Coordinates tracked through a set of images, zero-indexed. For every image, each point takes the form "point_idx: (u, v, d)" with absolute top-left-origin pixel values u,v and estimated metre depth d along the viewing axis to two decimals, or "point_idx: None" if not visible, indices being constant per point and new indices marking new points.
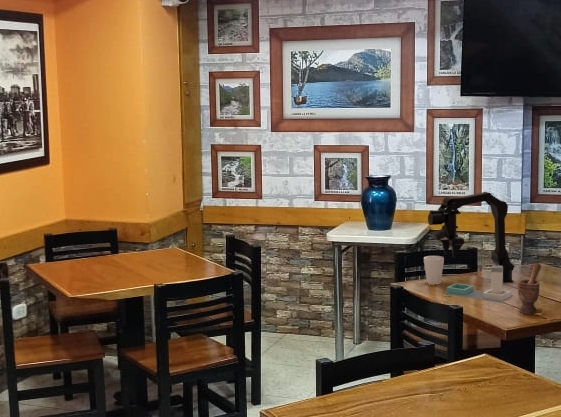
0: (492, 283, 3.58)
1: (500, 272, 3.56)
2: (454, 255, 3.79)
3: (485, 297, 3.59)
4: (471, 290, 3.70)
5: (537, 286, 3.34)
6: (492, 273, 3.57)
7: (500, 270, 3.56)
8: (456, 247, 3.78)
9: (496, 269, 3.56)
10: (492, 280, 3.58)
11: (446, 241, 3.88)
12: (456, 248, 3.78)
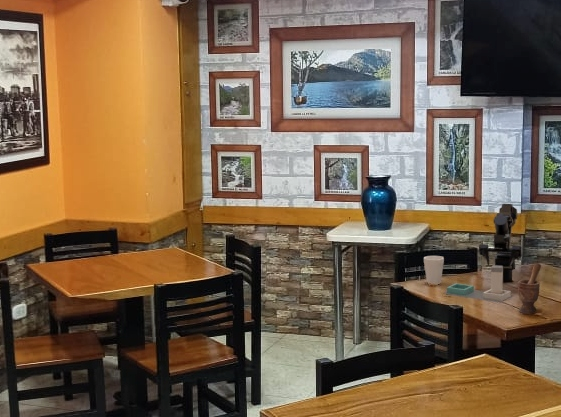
0: (492, 283, 3.58)
1: (500, 272, 3.56)
2: (510, 263, 3.65)
3: (485, 297, 3.59)
4: (471, 290, 3.70)
5: (537, 286, 3.34)
6: (492, 273, 3.57)
7: (500, 270, 3.56)
8: (513, 257, 3.67)
9: (496, 269, 3.56)
10: (492, 280, 3.58)
11: (488, 254, 3.71)
12: (512, 258, 3.67)
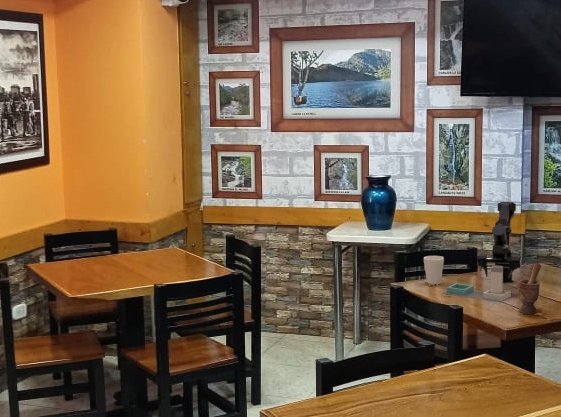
0: (492, 283, 3.58)
1: (500, 272, 3.56)
2: (509, 274, 3.59)
3: (485, 297, 3.59)
4: (471, 290, 3.70)
5: (537, 286, 3.34)
6: (492, 273, 3.57)
7: (500, 270, 3.56)
8: (511, 268, 3.61)
9: (496, 269, 3.56)
10: (492, 280, 3.58)
11: None
12: (511, 269, 3.61)
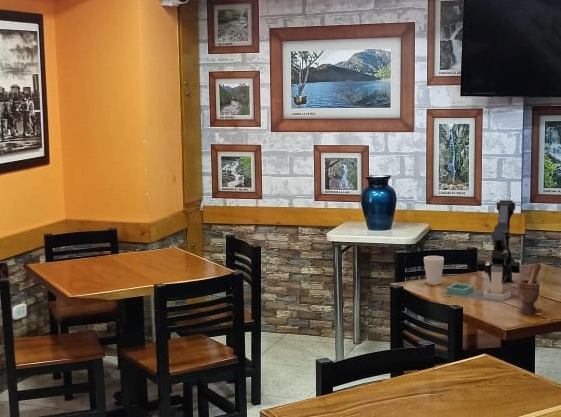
0: (492, 283, 3.58)
1: (500, 272, 3.56)
2: (503, 280, 3.57)
3: (485, 297, 3.59)
4: (471, 290, 3.70)
5: (537, 286, 3.34)
6: (492, 273, 3.57)
7: (500, 270, 3.56)
8: (506, 273, 3.60)
9: (496, 269, 3.56)
10: (492, 280, 3.58)
11: None
12: (506, 274, 3.60)
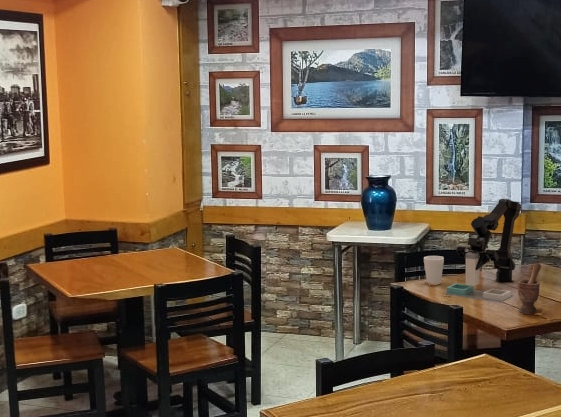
0: (466, 269, 3.64)
1: (473, 259, 3.61)
2: (478, 267, 3.62)
3: (485, 297, 3.59)
4: (471, 290, 3.70)
5: (537, 286, 3.34)
6: (466, 259, 3.63)
7: (473, 257, 3.61)
8: (482, 261, 3.64)
9: (470, 256, 3.62)
10: (466, 266, 3.64)
11: None
12: (482, 261, 3.64)
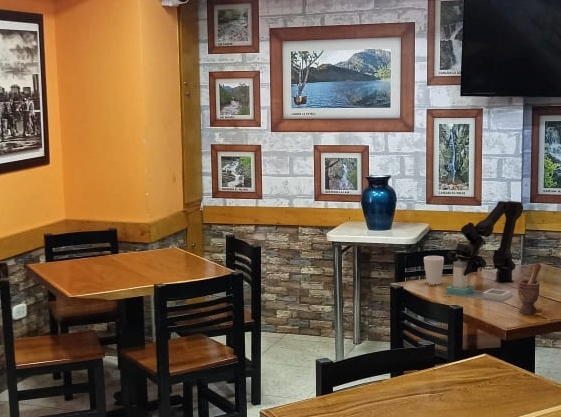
0: (454, 277, 3.70)
1: (460, 267, 3.67)
2: (466, 272, 3.67)
3: (485, 297, 3.59)
4: (471, 290, 3.70)
5: (537, 286, 3.34)
6: (454, 268, 3.70)
7: (460, 265, 3.67)
8: (472, 267, 3.68)
9: (457, 264, 3.68)
10: (453, 274, 3.70)
11: None
12: (471, 268, 3.68)
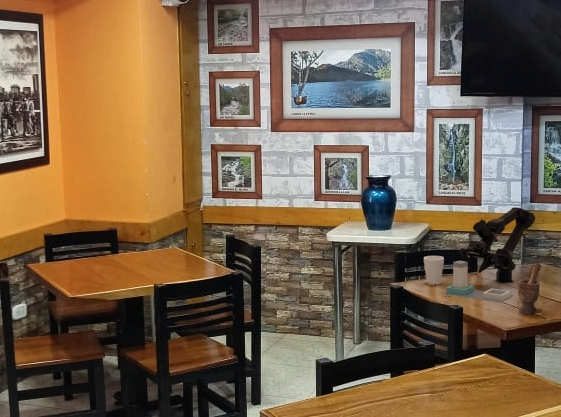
0: (454, 277, 3.70)
1: (460, 267, 3.67)
2: (481, 269, 3.71)
3: (485, 297, 3.59)
4: (471, 290, 3.70)
5: (537, 286, 3.34)
6: (454, 268, 3.70)
7: (460, 265, 3.67)
8: (486, 264, 3.72)
9: (457, 264, 3.68)
10: (453, 274, 3.70)
11: (468, 258, 3.81)
12: (486, 265, 3.72)
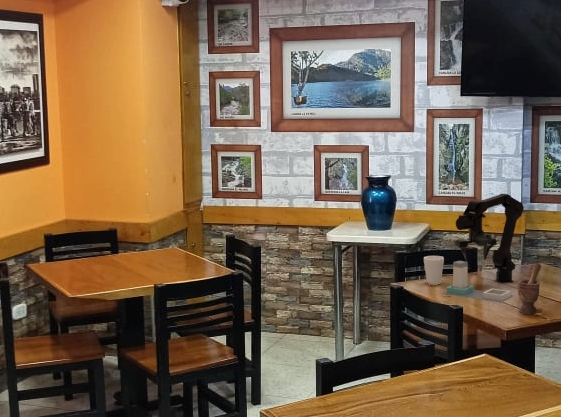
0: (454, 277, 3.70)
1: (460, 267, 3.67)
2: None
3: (485, 297, 3.59)
4: (471, 290, 3.70)
5: (537, 286, 3.34)
6: (454, 268, 3.70)
7: (460, 265, 3.67)
8: None
9: (457, 264, 3.68)
10: (453, 274, 3.70)
11: None
12: None
